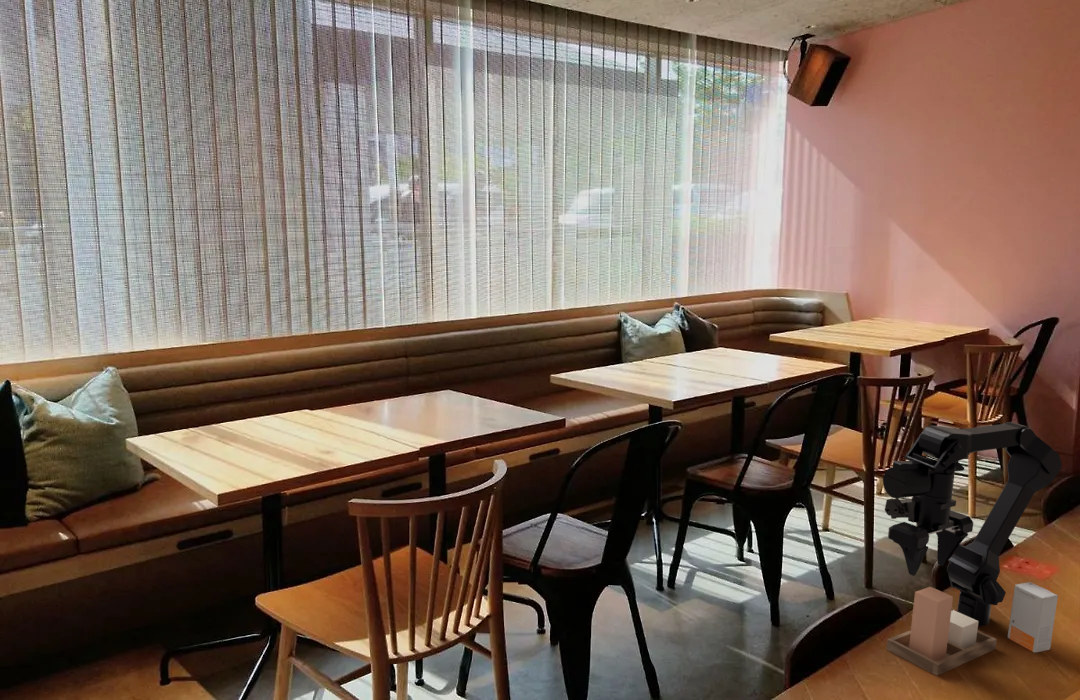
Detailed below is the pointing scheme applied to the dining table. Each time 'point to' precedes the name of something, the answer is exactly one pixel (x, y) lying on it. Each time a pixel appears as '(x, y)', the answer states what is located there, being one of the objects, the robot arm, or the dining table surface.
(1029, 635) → the skincare box
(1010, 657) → the dining table surface
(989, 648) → the walnut slot tray
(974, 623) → the cream block
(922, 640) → the terracotta peg
